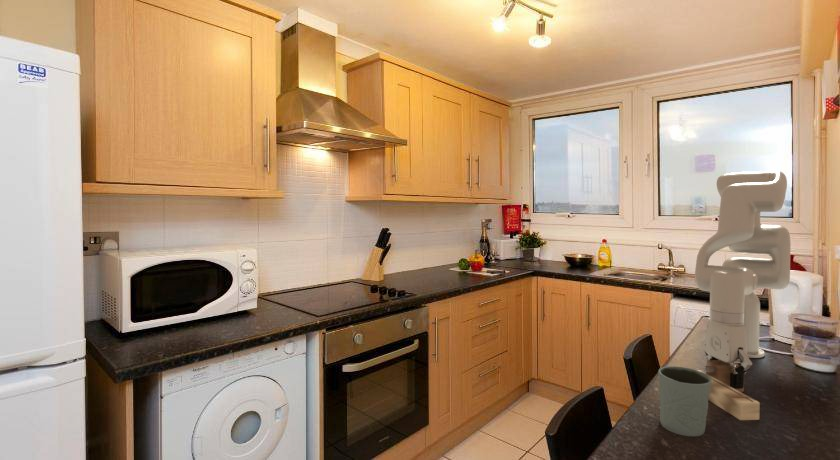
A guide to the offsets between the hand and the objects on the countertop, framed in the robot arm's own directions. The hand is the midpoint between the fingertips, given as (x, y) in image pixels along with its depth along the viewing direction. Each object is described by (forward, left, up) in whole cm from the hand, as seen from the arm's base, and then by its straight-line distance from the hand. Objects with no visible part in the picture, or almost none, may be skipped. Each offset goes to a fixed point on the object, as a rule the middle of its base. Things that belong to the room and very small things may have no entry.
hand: (724, 381), depth 117 cm
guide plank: (+7, -7, -2) cm, 10 cm away
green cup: (+19, -24, -2) cm, 31 cm away
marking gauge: (0, 0, -2) cm, 2 cm away
